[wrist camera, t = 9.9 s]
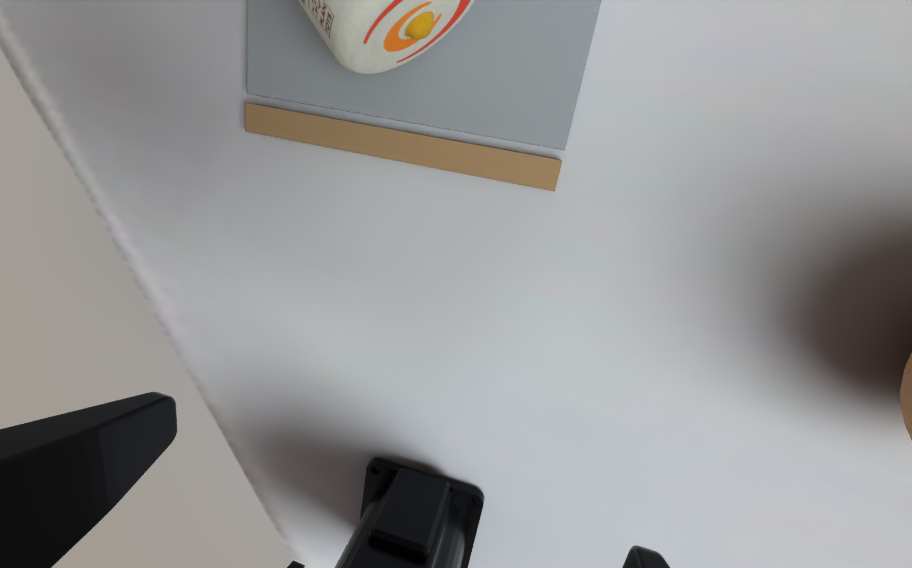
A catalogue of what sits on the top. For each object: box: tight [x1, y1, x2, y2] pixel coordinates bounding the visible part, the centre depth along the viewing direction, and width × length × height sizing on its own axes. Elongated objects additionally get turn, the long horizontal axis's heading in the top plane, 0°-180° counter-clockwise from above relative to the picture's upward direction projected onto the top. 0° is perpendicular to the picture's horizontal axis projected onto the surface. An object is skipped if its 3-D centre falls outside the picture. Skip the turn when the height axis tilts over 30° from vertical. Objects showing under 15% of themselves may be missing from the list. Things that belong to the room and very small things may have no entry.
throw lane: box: [245, 0, 601, 191], centre depth 16 cm, size 11×14×1 cm
